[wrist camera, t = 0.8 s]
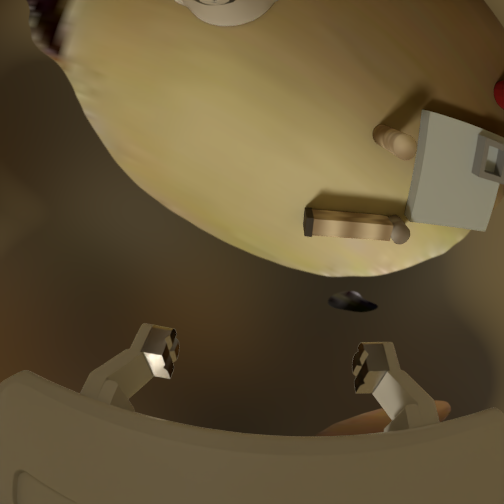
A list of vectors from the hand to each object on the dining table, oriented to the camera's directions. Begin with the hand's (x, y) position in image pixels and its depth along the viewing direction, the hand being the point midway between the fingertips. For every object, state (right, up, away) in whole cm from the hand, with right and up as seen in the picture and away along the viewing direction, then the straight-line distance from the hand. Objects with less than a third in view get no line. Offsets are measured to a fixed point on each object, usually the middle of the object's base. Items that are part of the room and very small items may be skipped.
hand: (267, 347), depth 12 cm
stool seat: (+38, +19, +29) cm, 51 cm away
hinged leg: (+18, +10, +37) cm, 42 cm away
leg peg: (+21, +23, +28) cm, 42 cm away
